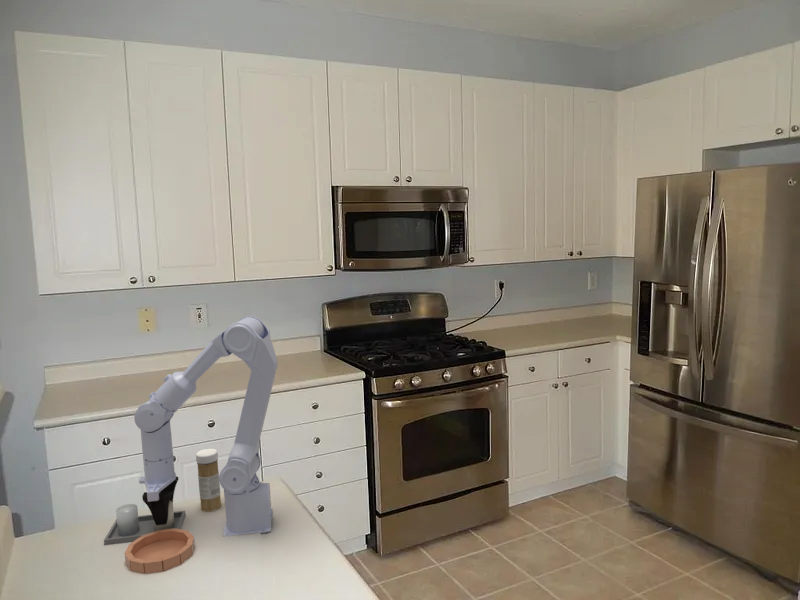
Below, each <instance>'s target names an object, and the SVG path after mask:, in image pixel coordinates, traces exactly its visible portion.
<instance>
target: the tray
mask: <svg viewBox="0 0 800 600" xmlns="http://www.w3.org/2000/svg"><path fill="white" fill-rule="evenodd" d="M186 515H187V513H186V510H179V511H178V510H177V511H174V523H175V526H174V529H175V528H176V529H182V527H183V523H184V522H185V518H186ZM138 519H139V531H138V532H137V533H136V534H133V535H131V536H119V535H118V525H117V518H115V520H114V522H113V524H112V526H111V527H110V529H109V531H108V532H107V535H106V536H105V538H104V539H103V545H104V546H109V545H117V544H126V543H132V542H133V541H135V540H136V539H138V538H139V537H141V536H143V535H146V534H149V533H152V532H154V531H155V530H154V521H153V516H152V514H146V515H138ZM172 529H173V528H172Z"/></svg>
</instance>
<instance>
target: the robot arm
mask: <svg viewBox="0 0 800 600" xmlns="http://www.w3.org/2000/svg"><path fill="white" fill-rule="evenodd" d="M271 339H272V338H271V331H270V329H269V328H268V326H267V325H266V324H265V323H264V322H263V321H262V320H261V319H260V318H259V317H257V316H254V315H246V316H243V317H242V318H240V319H239V320H238V321H236V322H234V323H232V324H230V325H229V326H227V327H226V329H225V330H223V331H222V332H220V333H219V334H218V335H216V337H214V338H213V339H212V340H211V341H210V342H209V343H208V344H207V345H206V346H204V348H203V350H202V351H201V352H200V353H199V354H198V355H197V356H196V357H195V359H193V361H192V362H191V363H190V364H189V365H188V367H187V368H186V369H184V370H183V371H175V372H173V373H172V374H171V373H169V374H167V375H166V376H165V377H164V378H163V381H164V383H163V384H161V385H160V386H159V388H158V389H157V390H156V391H152V392H151V393H150V394H149V395H148V398H149V400H148V401H146V402H144V403H142V404H140V405H139V406H138V407H137V409H136V411H135V413H134V415H133V416H134V417H133V418H134V423H135V425H136V426H137V428H138V429H140V437H141V438H140V441H141V451H142V459H143V471H144V476H141V477H140V478H139V480H138V483H139V484H142V485H143V484H144V486H145V488H146V491H145V492H143V493H142V496H141V497H142V501H143V502H144V504H145V505H146V506H147V507H148V509H149V511H150V513H151V514H150V515H152V516H153V519H154V522H155V524H156V525H164V524H167V520H168V509H169V502H170V501H172V502H173V503H174V495H175V492H176V486H177V484H178V481H179V476H177V474H176V472H175V461H174V450H173V439H172V428H171V419H172V418H173V416H174V415H175V413H176V412H177V411H178V410H179V409H180V408H181V407H182V406H183V405H184V404H185V403H186V401H188V400H189V399H190V398H191V397H192V396H193V395H194V394H195V393H196V391H197V381H199V379H200V378H201V377H202V376H203V375H204V374H205V373H206V372H207V371H208V370H209V369H210V368H212V367H213V365H214V364H215V363H216V362H217V361H218V360H220V358H223V357H224V358H225V357H229V356H230V355H231V354H233V355H234V356H236V357H237V358H239V359H241V361H243V362H244V363H245V364H246V365H247V367H248V368H249V369H250V376H249V380H248V384H247V388H246V392H245V397H244V401H243V405H242V410H241V413H240V418H239V422H238V426H237V429H236V435H235V438H234V443H233V445H232V448H231V450H230V452H229V455H228V458H227V462H226V464H225V465H224V466H223V468H222V469H221V471H220V472H219V481H220V487H221V488H222V489H223V496H224V497H223V498H224V509H225V510H224V511H225V524H224V529H223V534H222V536H223V537H224V538H225V537H234V536H241V535H249V534H257V533H260V534H265V533H271V531H272V519H273V517H274V513H273V512H274V511H273V508H272V500H271V485H270V483H269V482H261V481H260V479H259V476H258V475H257V472H258V471H259V469H260V467H261V457H260V449H261V445H260V439H261V435H262V431H263V428H264V422H265V420H266V414H267V411H268V407H269V402H270V398H271V393H272V390H273V385H274V381H275V378H276V373H277V369H278V365H279V361H278V360H279V359H278V358H277V354H276V351H275V348H274V345H273V342H272V340H271Z"/></svg>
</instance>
